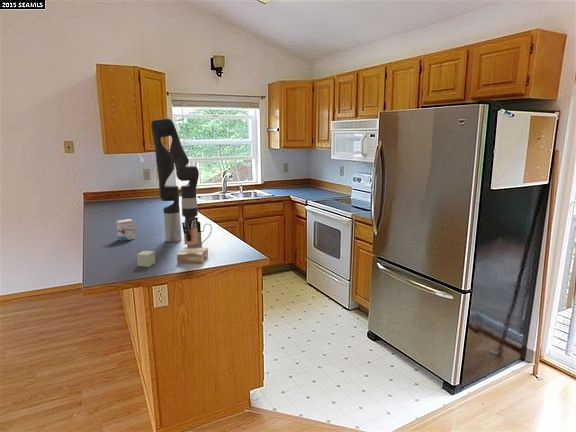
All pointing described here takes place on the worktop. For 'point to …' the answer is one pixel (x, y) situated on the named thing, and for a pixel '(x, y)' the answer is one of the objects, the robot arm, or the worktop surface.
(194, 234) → the terracotta block
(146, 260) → the sage cube
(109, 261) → the worktop surface
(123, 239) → the ink box
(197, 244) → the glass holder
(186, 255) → the birch block
